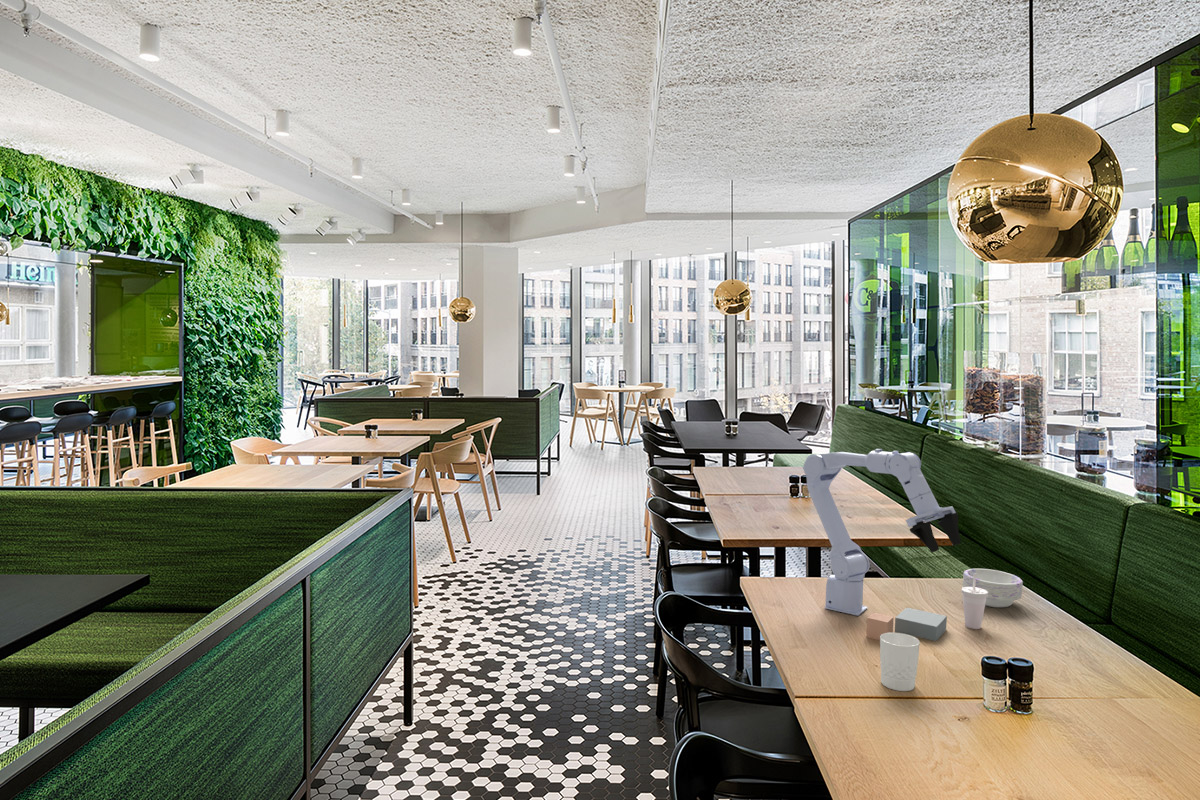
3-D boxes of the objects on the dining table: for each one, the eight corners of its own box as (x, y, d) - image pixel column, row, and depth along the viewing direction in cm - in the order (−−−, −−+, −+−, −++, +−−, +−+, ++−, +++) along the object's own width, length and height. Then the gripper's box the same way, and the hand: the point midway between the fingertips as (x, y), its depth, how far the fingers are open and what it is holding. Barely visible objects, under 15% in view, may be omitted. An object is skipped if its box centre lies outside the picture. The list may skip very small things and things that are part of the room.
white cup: (916, 680, 166) (918, 635, 165) (918, 695, 158) (920, 648, 158) (877, 674, 168) (879, 630, 168) (878, 689, 161) (880, 643, 160)
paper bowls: (1032, 612, 212) (1034, 584, 211) (977, 610, 212) (978, 582, 211) (1004, 594, 227) (1005, 568, 226) (952, 593, 227) (954, 567, 226)
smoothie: (980, 622, 202) (983, 570, 201) (990, 631, 196) (993, 578, 195) (955, 621, 203) (958, 569, 202) (964, 630, 196) (967, 576, 196)
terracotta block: (866, 637, 191) (867, 617, 190) (872, 631, 195) (873, 612, 194) (886, 642, 188) (887, 622, 187) (892, 636, 192) (893, 616, 191)
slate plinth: (894, 632, 195) (895, 617, 195) (906, 622, 203) (906, 607, 203) (936, 642, 189) (936, 626, 189) (946, 631, 197) (946, 615, 196)
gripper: (909, 496, 187) (936, 549, 181) (952, 485, 192) (978, 536, 187) (892, 506, 192) (917, 558, 187) (933, 495, 198) (958, 545, 193)
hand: (946, 547), depth 188 cm, fingers open, 7 cm apart
